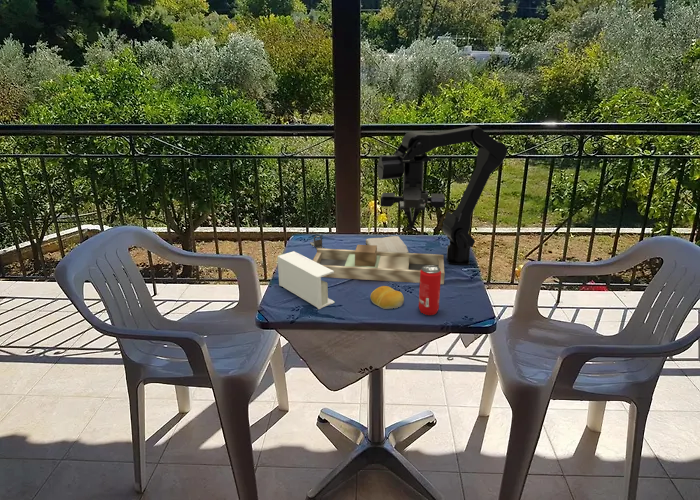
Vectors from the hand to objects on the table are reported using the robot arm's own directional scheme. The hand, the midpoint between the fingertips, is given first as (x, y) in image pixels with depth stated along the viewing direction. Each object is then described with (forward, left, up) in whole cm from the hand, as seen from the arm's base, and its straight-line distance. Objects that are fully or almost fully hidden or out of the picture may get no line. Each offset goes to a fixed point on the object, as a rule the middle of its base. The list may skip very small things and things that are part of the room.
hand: (411, 227), depth 154 cm
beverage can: (-6, +29, -13) cm, 32 cm away
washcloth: (+8, -12, -14) cm, 20 cm away
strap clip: (+32, -12, -13) cm, 37 cm away
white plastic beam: (+28, +23, -13) cm, 39 cm away
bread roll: (+5, +25, -13) cm, 29 cm away
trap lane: (+10, +5, -13) cm, 17 cm away
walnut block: (+13, +5, -10) cm, 17 cm away
